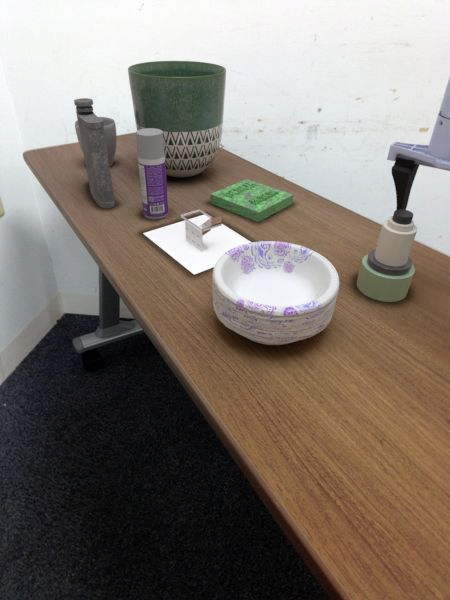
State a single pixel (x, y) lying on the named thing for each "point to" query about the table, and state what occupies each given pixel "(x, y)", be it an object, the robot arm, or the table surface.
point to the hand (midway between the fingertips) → (428, 222)
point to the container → (152, 172)
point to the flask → (95, 153)
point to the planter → (181, 110)
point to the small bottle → (396, 239)
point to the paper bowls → (274, 291)
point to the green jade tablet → (251, 199)
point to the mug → (109, 136)
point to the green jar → (384, 279)
